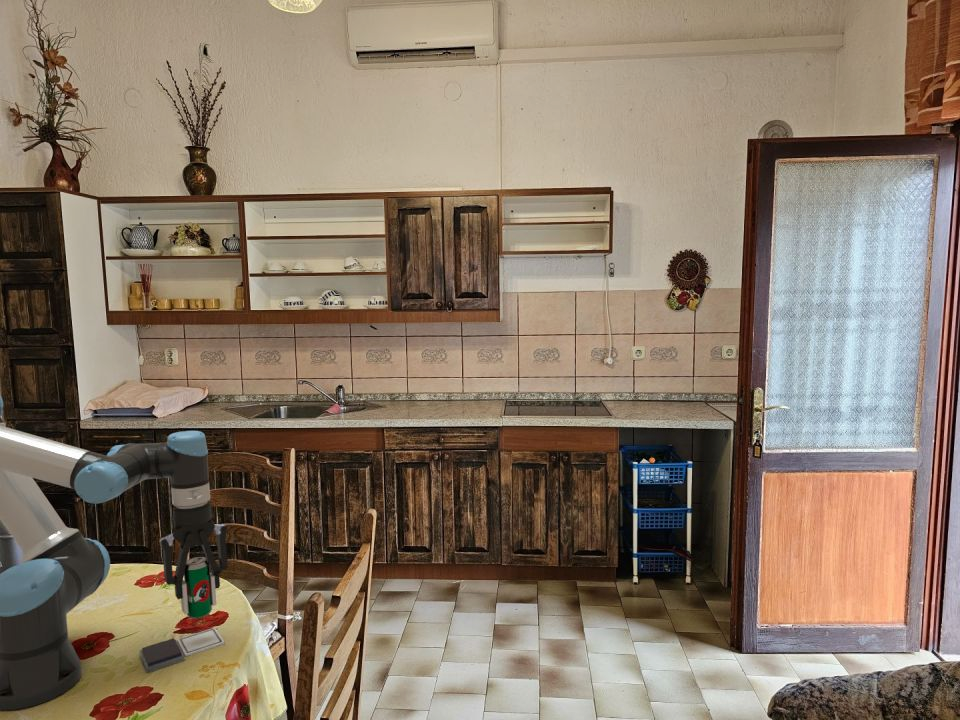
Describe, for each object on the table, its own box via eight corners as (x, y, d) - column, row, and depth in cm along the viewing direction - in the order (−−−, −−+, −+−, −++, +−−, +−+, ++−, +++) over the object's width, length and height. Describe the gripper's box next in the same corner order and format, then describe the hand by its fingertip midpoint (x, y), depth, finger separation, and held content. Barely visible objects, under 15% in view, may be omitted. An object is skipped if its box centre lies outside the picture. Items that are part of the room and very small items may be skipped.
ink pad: (147, 673, 127) (146, 664, 127) (140, 655, 133) (139, 647, 133) (184, 660, 131) (183, 652, 131) (176, 644, 137) (175, 636, 137)
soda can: (216, 608, 140) (213, 556, 139) (204, 619, 135) (200, 565, 134) (195, 608, 140) (191, 555, 139) (182, 619, 135) (178, 565, 134)
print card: (185, 656, 132) (185, 654, 132) (177, 641, 139) (176, 638, 139) (224, 643, 137) (224, 641, 137) (215, 629, 144) (214, 627, 144)
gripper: (148, 517, 127) (156, 627, 129) (240, 498, 138) (246, 600, 140) (141, 508, 133) (150, 614, 135) (230, 491, 144) (236, 589, 146)
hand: (199, 607), depth 137 cm, fingers closed on soda can, 5 cm apart
